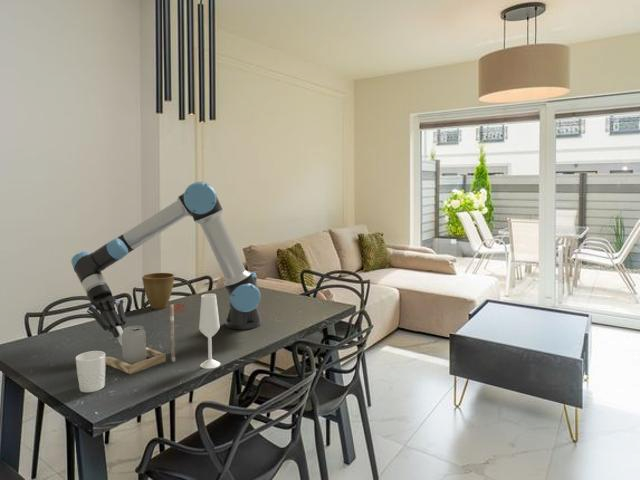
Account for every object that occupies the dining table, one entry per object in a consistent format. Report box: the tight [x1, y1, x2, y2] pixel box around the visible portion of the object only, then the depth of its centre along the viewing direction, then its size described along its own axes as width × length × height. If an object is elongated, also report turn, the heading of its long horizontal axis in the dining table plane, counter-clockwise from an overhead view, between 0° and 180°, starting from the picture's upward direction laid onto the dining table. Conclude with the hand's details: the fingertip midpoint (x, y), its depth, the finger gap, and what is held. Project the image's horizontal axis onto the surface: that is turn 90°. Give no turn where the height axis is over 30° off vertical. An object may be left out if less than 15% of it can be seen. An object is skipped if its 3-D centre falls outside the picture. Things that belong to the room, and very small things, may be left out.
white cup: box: [75, 350, 106, 393], centre depth 133 cm, size 8×8×10 cm
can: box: [121, 325, 147, 365], centre depth 153 cm, size 8×8×12 cm
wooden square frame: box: [105, 301, 185, 375], centre depth 154 cm, size 23×23×20 cm
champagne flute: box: [198, 293, 221, 369], centre depth 150 cm, size 7×7×24 cm
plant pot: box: [141, 272, 175, 310], centre depth 221 cm, size 15×15×16 cm
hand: (124, 343), depth 155 cm, fingers closed
